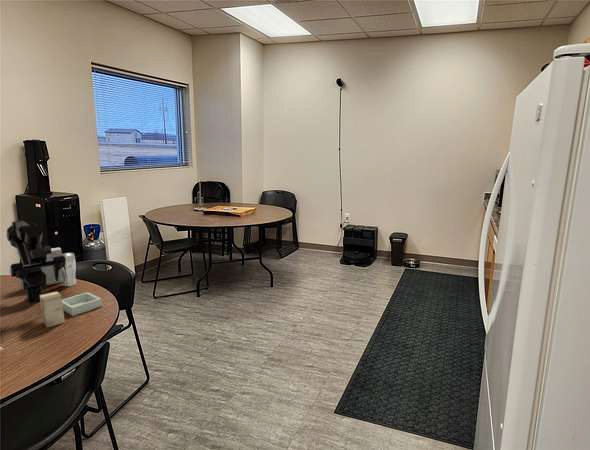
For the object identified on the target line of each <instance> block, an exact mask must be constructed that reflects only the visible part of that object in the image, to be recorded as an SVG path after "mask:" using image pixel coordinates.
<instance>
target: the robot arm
mask: <svg viewBox="0 0 590 450" xmlns="http://www.w3.org/2000/svg"><path fill="white" fill-rule="evenodd" d="M43 233H44V230H43V229H42V228H41V227H40V226H39V225H37V224H36V223H29V224H28V223H27V221H26V220H24V219H23V220H14V221H11V225H10V226H9V227H8V228H7V229H6V239H7V242H9V243H10V246H11V247H13V248H15V249H16V250H17V253H18V256H19V259H20V262H18V263H11V265H10V267H9V274H10V276H11V278H12V277H15V279H18V278H19V280H20V287H21V288H22V290H24V291H26V297H25V298H24V301H26V302H28V303H29V304H32V303H36V302H40V295H43V286H47V285H46V274H45V273H44V272H43V271H42V269H41V267H46V266H52V265H53V267H54V274H55V279H56V281H57V282H58V275H59V270H61V269H62V268H63V267H65V263H66V258H65V257H64V256H63V255H62V256H56V257H54V258H53V261H47V262H46V260H47V254H51V253H52V251H51V249H52V248H51V246H50V245H45V246H44V247H42V243H41V242H42V240H43V235H44V234H43Z"/></svg>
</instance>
